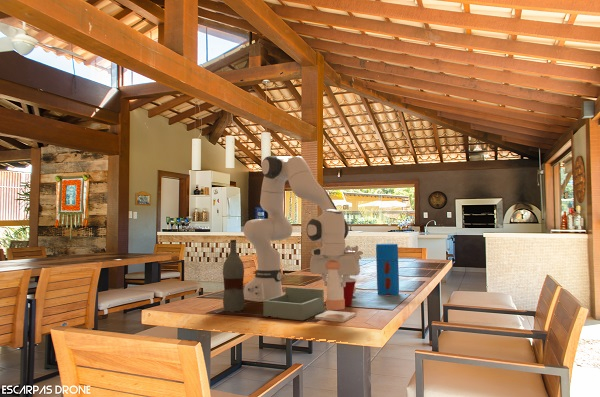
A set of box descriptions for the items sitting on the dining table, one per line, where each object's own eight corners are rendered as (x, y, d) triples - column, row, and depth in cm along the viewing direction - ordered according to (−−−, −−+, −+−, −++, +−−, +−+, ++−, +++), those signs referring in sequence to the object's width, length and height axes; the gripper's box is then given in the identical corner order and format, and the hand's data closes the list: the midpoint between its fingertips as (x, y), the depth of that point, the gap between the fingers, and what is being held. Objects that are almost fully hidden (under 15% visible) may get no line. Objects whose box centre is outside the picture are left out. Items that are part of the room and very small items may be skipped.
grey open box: (263, 316, 171) (263, 293, 172) (286, 307, 187) (286, 286, 187) (302, 320, 162) (302, 296, 163) (324, 311, 178) (323, 289, 178)
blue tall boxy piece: (377, 295, 213) (376, 244, 214) (377, 292, 223) (375, 243, 224) (399, 295, 211) (398, 244, 212) (398, 292, 221) (397, 243, 223)
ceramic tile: (314, 318, 164) (314, 316, 164) (328, 312, 175) (328, 310, 175) (343, 322, 158) (343, 319, 158) (355, 315, 169) (355, 313, 169)
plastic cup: (356, 308, 183) (355, 279, 184) (331, 307, 185) (330, 279, 186) (358, 303, 194) (357, 276, 194) (334, 302, 196) (333, 276, 197)
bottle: (238, 313, 178) (238, 240, 179) (219, 312, 180) (218, 240, 182) (248, 308, 187) (247, 239, 188) (229, 307, 189) (228, 239, 191)
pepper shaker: (347, 309, 164) (346, 258, 165) (329, 310, 162) (328, 259, 163) (341, 305, 171) (340, 257, 172) (323, 306, 169) (322, 258, 170)
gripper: (362, 250, 166) (363, 286, 165) (315, 249, 176) (315, 283, 175) (355, 251, 160) (356, 289, 159) (307, 250, 170) (308, 285, 169)
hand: (334, 286), depth 167 cm, fingers closed on pepper shaker, 5 cm apart
